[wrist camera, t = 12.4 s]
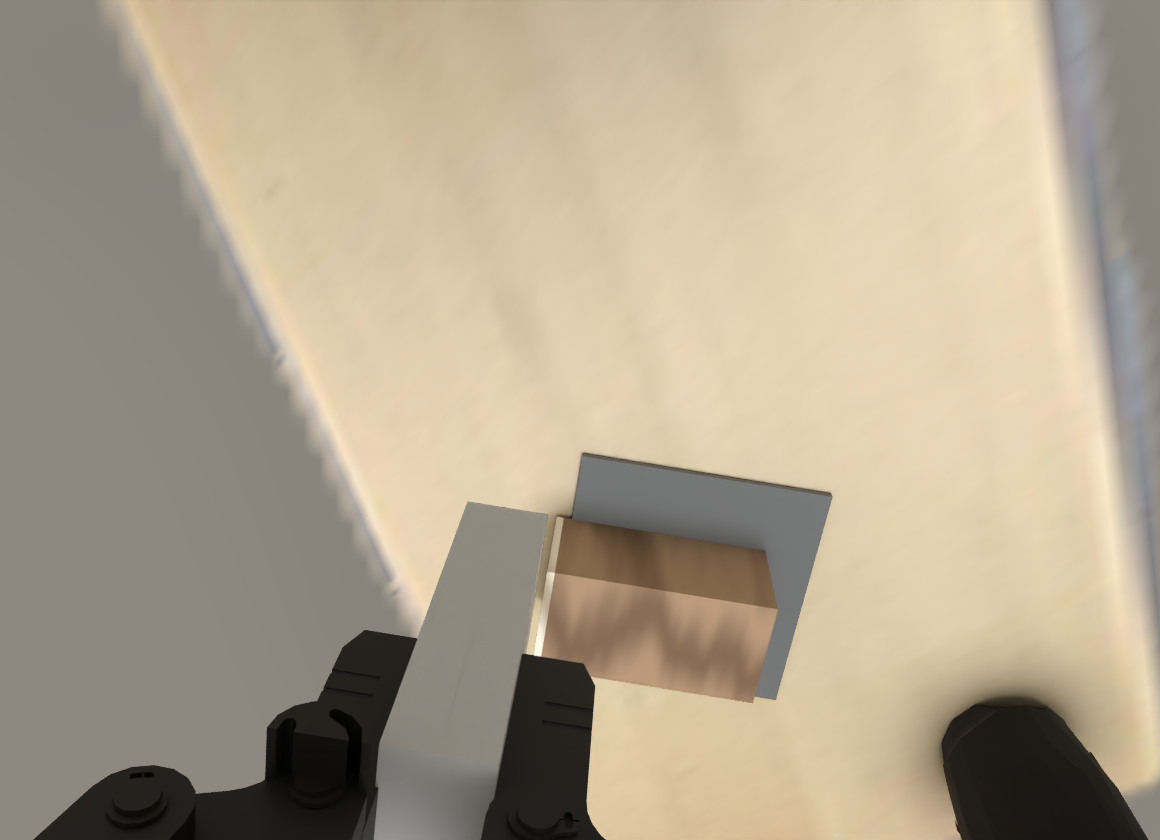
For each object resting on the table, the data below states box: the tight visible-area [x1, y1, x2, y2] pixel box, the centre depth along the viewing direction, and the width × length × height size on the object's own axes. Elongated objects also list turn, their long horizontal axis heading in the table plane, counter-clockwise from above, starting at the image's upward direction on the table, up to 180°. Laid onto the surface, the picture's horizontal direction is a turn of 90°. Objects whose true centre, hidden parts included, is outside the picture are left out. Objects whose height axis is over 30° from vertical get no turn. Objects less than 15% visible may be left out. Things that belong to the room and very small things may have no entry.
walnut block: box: [534, 517, 778, 703], centre depth 55 cm, size 6×6×12 cm
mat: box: [572, 453, 832, 700], centre depth 58 cm, size 14×14×1 cm
